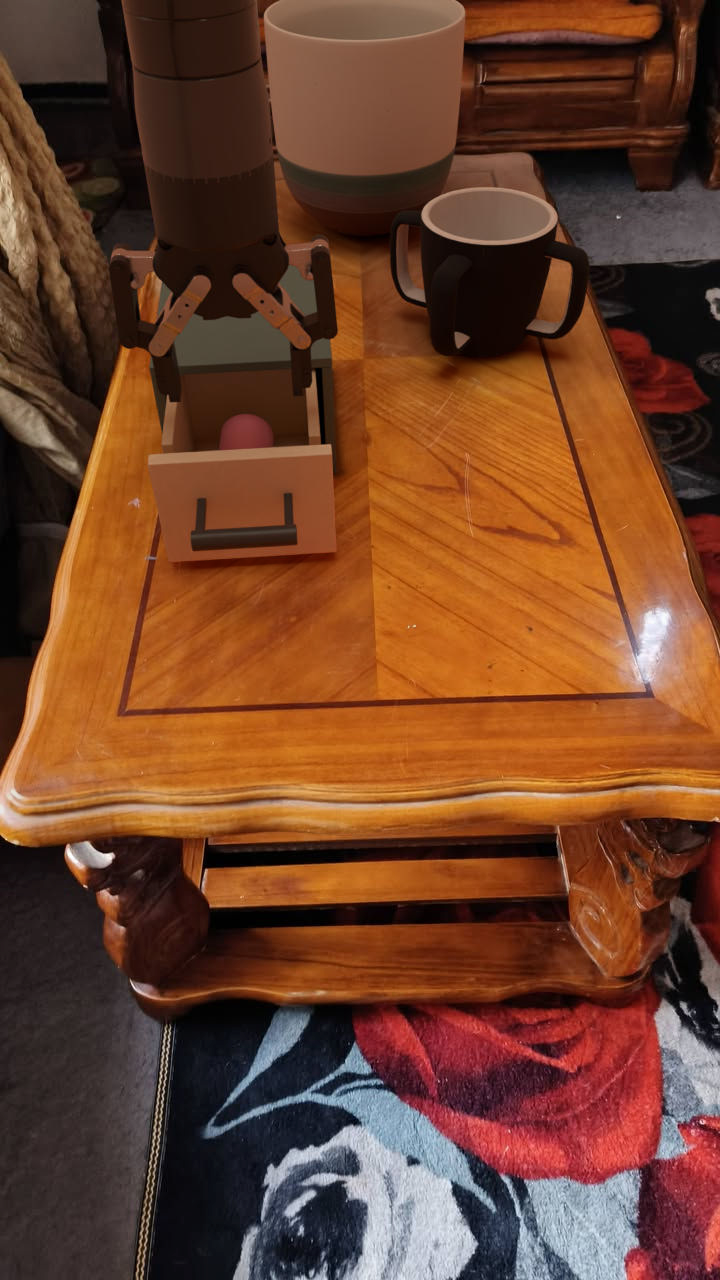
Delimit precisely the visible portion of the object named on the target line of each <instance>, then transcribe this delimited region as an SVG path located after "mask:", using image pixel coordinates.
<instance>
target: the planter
mask: <svg viewBox="0 0 720 1280" xmlns="http://www.w3.org/2000/svg"><path fill="white" fill-rule="evenodd" d="M263 26H264V27H263V28H264V39H265V50H266V61H267V62H266V64H267V75H268V86H269V95H270V96H269V97H270V104H271V113H272V115H271V116H272V124H273V133H274V139H275V147H276V152H277V157H278V162H279V167H280V170H281V173H282V175H283V180H284V181H285V184H286V186H287V189H288V191H289V193H290V195H291V196H292V198H293V199H294V201H295V202H296V203H297V204H298V205H299V207H300V208H301V209H302V210H303V211H304V212H305V213H306V214H307V215H309V217H311V218H312V219H313V220H314V221H316V222H318V223H319V224H321V225H322V226H324V227H325V228H328V229H329V230H332V231H335V232H337V233H341V234H345V235H348V236H349V235H350V236H358V237H374V236H382V235H386V234H390V228H391V225H392V222H393V220H394V218H395V217H396V215H397V214H398V213H400V212H402V211H405V210H411V211H421V212H422V210H423V208H424V207H425V206H426V204H427V203H429V202H430V201H431V200H433V199H435V198H436V197H438V196H440V195H442V193H443V190H444V188H445V186H446V184H447V181H448V178H449V176H450V172H451V169H452V165H453V161H454V158H455V152H456V151H455V150H456V145H457V135H458V127H459V126H458V125H459V116H460V105H461V92H462V91H461V90H462V77H463V65H464V64H463V63H464V47H465V30H466V9H465V8H464V5H462V4H461V3H460V1H458V0H278V1H275V2H274V3H272V4H270V5H269V6H268V7H267V8H266V10H265V11H264V14H263Z"/></svg>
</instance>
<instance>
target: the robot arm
mask: <svg viewBox="0 0 720 1280" xmlns="http://www.w3.org/2000/svg"><path fill="white" fill-rule="evenodd" d="M121 6H122V12H123V18H124V25H125V31H126V37H127V42H128V48H129V54H130V61H131V67H132V76H133V91H134V92H133V95H134V96H133V97H134V98H133V99H134V111H135V119H136V124H137V131H138V136H139V142H140V147H141V153H142V154H141V155H142V160H143V165H144V166H143V167H144V172H145V177H146V183H147V191H148V196H149V202H150V207H151V213H152V219H153V225H154V231H155V237H156V246H155V249H154V250H133V249H132V248H131V246H130V245H129V244H127V243H124V242H119V243H116V244H115V245H114V246H113V248H112V252H111V257H110V261H109V265H108V274H109V280H110V286H111V293H112V301H113V307H114V315H115V321H116V328H117V333H118V334H117V335H118V341H119V343H120V345H121V346H122V348H125V349H128V350H132V349H135V348H139V349H141V350H145V351H146V352H147V353H149V355H150V358H151V357H152V361H153V366H154V372H155V377H156V382H157V387H158V390H159V391H160V393H161V394H162V395H168V396H169V401H170V403H172V402H180V401H181V391H182V389H181V380H180V374H179V368H178V362H177V356H176V350H175V344H174V340H175V338H176V337H177V335H178V334H180V333H181V332H182V331H183V329H184V327H185V326H186V324H187V323H188V321H189V320H190V318H191V316H192V315H193V313H194V314H196V315H198V316H201V317H203V320H216V319H219V318H222V317H226V316H229V317H234V318H239V319H241V318H251V315H252V314H254V313H256V312H258V311H259V312H260V314H261V315H262V316H263V317H264V318H265V319H266V320H267V321H268V322H269V323H270V324H271V325H272V326H273V327H274V328H275V329H279V330H280V331H281V332H282V333H283V334H284V335H285V336H286V337H287V338H288V339H289V341H290V357H291V370H292V384H293V397H295V396H303V388H310V386H311V384H312V364H311V346H312V344H313V343H314V342H315V341H317V340H319V339H322V338H324V339H330V340H333V339H334V338H336V337H337V336H338V331H339V330H338V319H337V309H336V300H335V299H336V298H335V289H334V279H333V271H332V270H333V269H332V268H333V267H332V260H331V259H332V258H331V250H330V242H329V239H328V238H327V237H326V236H325V235H324V234H315V235H313V236H312V238H311V239H310V241H309V242H301V243H291V244H286V242H285V241H284V239H283V237H282V236H281V232H280V225H279V213H278V199H277V187H276V173H275V171H276V170H275V161H274V146H273V137H274V125H273V120H272V118H271V108H270V100H269V99H270V98H269V93H268V88H267V84H266V78H265V74H264V67H263V60H262V49H261V37H260V36H261V35H260V24H259V22H260V21H259V13H258V12H259V11H258V0H121ZM289 265H293V266H295V267H297V268H298V269H299V271H300V274H301V276H302V278H303V279H305V280H308V281H312V280H314V288H315V297H316V306H317V312H315V313H312V314H310V315H307V316H305V314H304V313H303V312H302V311H301V310H300V309H299V308H298V307H297V306H296V305H295V303H294V302H293V301H292V300H291V298H290V296H289V294H288V293H287V291H286V290H285V289H284V288H283V287H282V286H281V285H280V284H279V282H280V280H281V279H282V277H283V275H284V274H285V272H286V271H287V269H288V266H289ZM149 273H154V274H155V276H156V277H157V278H158V279H159V280H160V281H161V283H162V282H163V283H164V284H165V285H166V286H167V287H168V288H169V289H170V290H171V291H172V292H171V293H170V295H169V297H168V299H167V301H166V303H165V306H164V308H163V309H162V311H161V312H160V314H159V316H158V317H157V316H156V318H157V319H155V320H154V322H153V323H152V322H150V321H145V320H142V318H141V311H140V302H139V295H138V290H139V289H141V288H143V287H144V286H145V283H146V278H147V275H149Z"/></svg>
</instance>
